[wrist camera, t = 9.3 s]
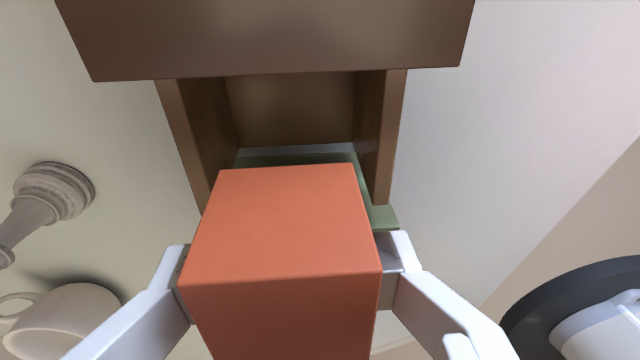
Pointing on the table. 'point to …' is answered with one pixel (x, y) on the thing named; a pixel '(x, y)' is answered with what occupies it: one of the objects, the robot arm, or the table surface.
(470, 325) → the robot arm
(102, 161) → the table surface
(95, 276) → the table surface
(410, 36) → the cabinet
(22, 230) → the chess piece
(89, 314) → the teacup
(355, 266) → the block
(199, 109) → the drawer
